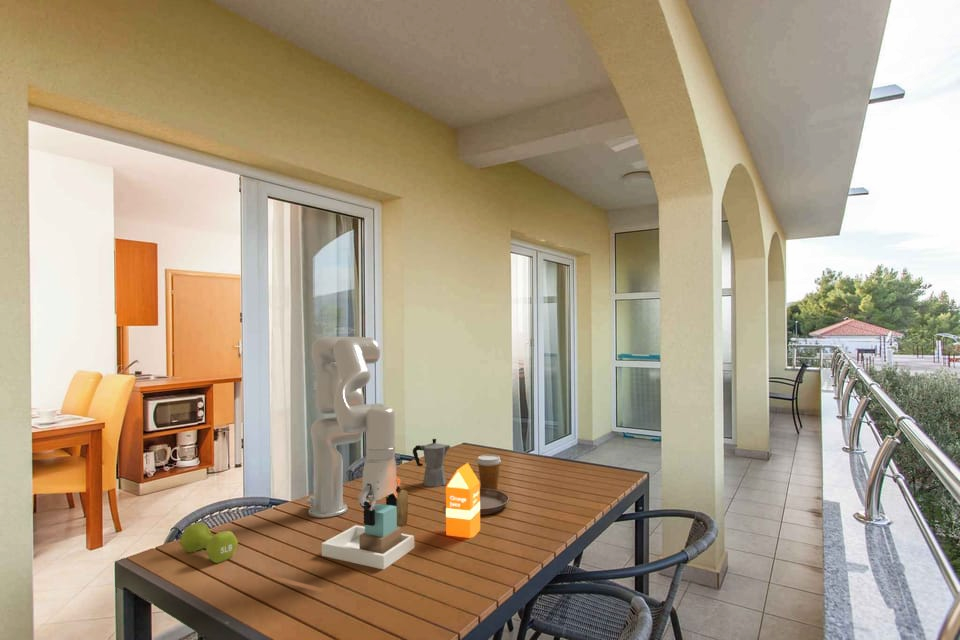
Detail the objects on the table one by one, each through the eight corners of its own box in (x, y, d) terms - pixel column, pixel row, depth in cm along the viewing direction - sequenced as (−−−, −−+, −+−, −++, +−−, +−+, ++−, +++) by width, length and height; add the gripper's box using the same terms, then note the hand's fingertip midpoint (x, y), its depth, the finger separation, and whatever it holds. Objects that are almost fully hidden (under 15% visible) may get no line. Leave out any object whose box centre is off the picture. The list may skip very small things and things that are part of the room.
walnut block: (359, 558, 128) (359, 535, 128) (380, 545, 136) (380, 523, 136) (381, 563, 125) (381, 539, 125) (401, 549, 133) (401, 527, 133)
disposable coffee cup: (476, 485, 195) (475, 454, 195) (499, 484, 195) (499, 454, 196) (478, 492, 185) (477, 460, 186) (503, 491, 186) (502, 459, 186)
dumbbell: (240, 556, 132) (240, 529, 133) (211, 568, 125) (211, 539, 126) (206, 543, 141) (206, 518, 141) (177, 554, 134) (177, 527, 134)
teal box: (364, 533, 129) (364, 510, 129) (378, 525, 135) (378, 503, 135) (383, 537, 127) (383, 513, 127) (396, 528, 132) (396, 506, 132)
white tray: (321, 558, 130) (321, 543, 130) (355, 539, 143) (355, 525, 143) (383, 572, 121) (383, 556, 122) (414, 550, 134) (414, 535, 134)
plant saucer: (517, 513, 163) (517, 503, 163) (457, 520, 157) (457, 510, 157) (497, 495, 183) (497, 486, 183) (443, 500, 177) (443, 491, 177)
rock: (414, 522, 149) (420, 507, 159) (396, 500, 149) (404, 486, 159) (387, 542, 150) (395, 525, 160) (369, 521, 150) (379, 505, 160)
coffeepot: (449, 479, 204) (448, 435, 205) (452, 485, 195) (452, 440, 195) (411, 481, 200) (411, 437, 201) (413, 488, 191) (413, 442, 192)
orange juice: (480, 529, 149) (479, 463, 149) (470, 541, 140) (469, 470, 141) (456, 526, 151) (456, 461, 152) (445, 537, 143) (444, 468, 144)
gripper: (388, 446, 141) (388, 506, 140) (348, 459, 125) (348, 527, 124) (410, 448, 138) (410, 510, 137) (372, 462, 122) (372, 532, 121)
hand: (380, 518), depth 131 cm, fingers open, 9 cm apart
